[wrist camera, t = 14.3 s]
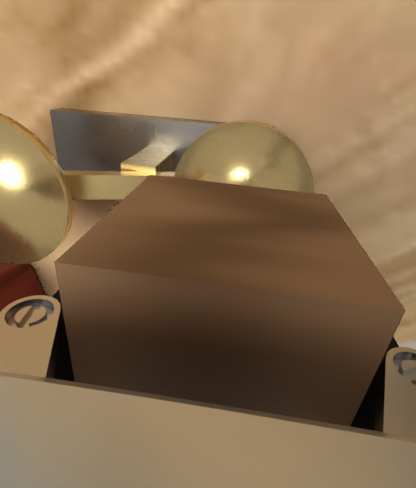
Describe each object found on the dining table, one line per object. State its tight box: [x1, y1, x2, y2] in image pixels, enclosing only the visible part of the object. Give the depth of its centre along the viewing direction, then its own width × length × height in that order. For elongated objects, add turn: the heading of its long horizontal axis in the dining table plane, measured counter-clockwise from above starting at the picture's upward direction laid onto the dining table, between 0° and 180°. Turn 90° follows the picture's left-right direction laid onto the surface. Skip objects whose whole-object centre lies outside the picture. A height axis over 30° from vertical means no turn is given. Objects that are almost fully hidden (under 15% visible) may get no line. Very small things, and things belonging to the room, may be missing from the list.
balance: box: [0, 108, 313, 264], centre depth 22 cm, size 23×9×12 cm, turn 86°
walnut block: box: [55, 175, 405, 426], centre depth 9 cm, size 6×6×6 cm
